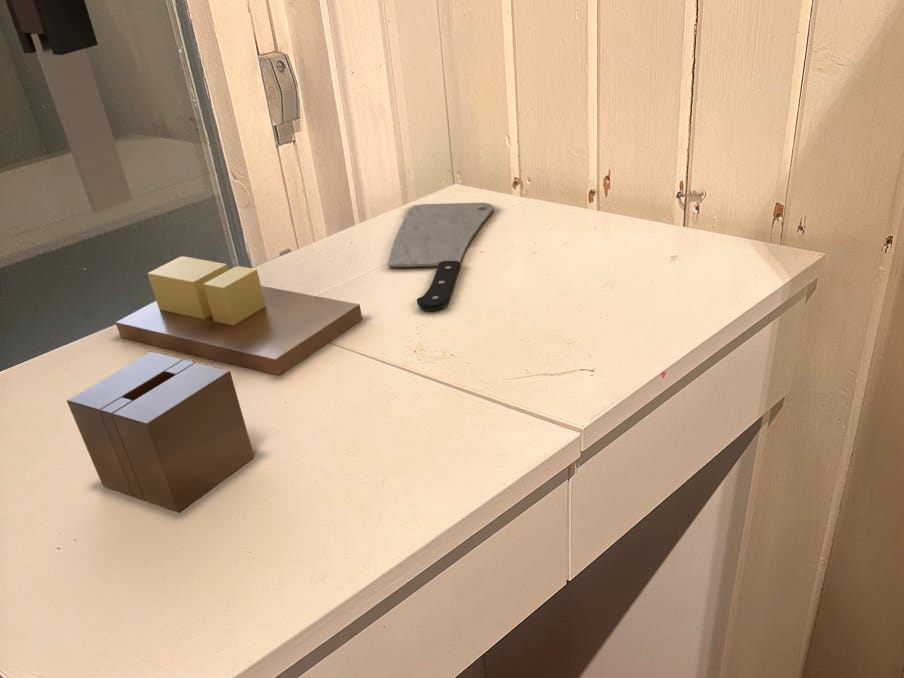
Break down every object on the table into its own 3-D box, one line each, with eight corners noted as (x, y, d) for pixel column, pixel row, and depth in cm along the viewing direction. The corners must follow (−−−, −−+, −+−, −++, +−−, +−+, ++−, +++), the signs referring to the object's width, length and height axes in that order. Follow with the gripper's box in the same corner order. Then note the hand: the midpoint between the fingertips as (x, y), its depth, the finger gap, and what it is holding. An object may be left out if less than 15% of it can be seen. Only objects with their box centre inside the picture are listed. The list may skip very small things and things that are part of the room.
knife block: (102, 486, 67) (65, 400, 63) (179, 434, 72) (151, 351, 67) (179, 512, 64) (146, 424, 59) (254, 456, 69) (230, 370, 64)
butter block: (159, 309, 87) (147, 273, 85) (192, 291, 90) (181, 255, 88) (204, 319, 85) (193, 282, 82) (237, 300, 87) (227, 263, 85)
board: (120, 337, 87) (115, 322, 86) (208, 289, 94) (204, 274, 93) (279, 375, 78) (275, 359, 77) (362, 319, 86) (359, 304, 85)
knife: (85, 213, 60) (-51, -174, 47) (120, 198, 62) (-2, -179, 49) (105, 216, 59) (-28, -177, 46) (140, 201, 61) (22, -182, 48)
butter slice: (213, 321, 84) (202, 283, 82) (246, 302, 87) (236, 265, 85) (233, 325, 83) (223, 287, 81) (265, 306, 86) (256, 269, 83)
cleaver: (348, 312, 87) (451, 310, 85) (347, 306, 86) (450, 305, 85) (413, 207, 108) (496, 204, 106) (412, 203, 107) (496, 200, 106)
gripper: (30, -643, 37) (196, 39, 53) (-169, -552, 44) (32, 31, 60) (-142, -689, 33) (96, 70, 49) (-336, -581, 39) (-70, 57, 55)
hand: (60, 47), depth 54 cm, fingers closed on knife, 2 cm apart
